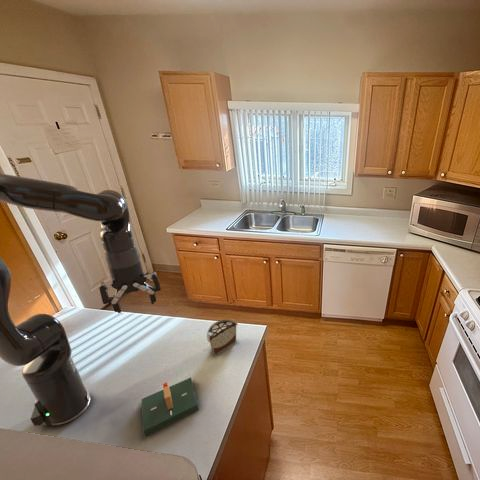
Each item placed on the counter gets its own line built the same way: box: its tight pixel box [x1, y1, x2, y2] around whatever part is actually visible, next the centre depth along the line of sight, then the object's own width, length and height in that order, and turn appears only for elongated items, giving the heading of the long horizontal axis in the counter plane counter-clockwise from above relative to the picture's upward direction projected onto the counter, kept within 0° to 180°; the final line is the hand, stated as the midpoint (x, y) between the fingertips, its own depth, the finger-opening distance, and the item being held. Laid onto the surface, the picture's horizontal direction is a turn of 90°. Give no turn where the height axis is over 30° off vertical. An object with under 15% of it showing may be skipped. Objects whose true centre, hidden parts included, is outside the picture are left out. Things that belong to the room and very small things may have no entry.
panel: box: [141, 377, 199, 437], centre depth 78 cm, size 14×11×3 cm
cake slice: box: [206, 318, 238, 357], centre depth 100 cm, size 12×6×10 cm, turn 141°
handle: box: [162, 381, 173, 410], centre depth 77 cm, size 6×1×5 cm, turn 35°
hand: (136, 307), depth 79 cm, fingers open, 8 cm apart
